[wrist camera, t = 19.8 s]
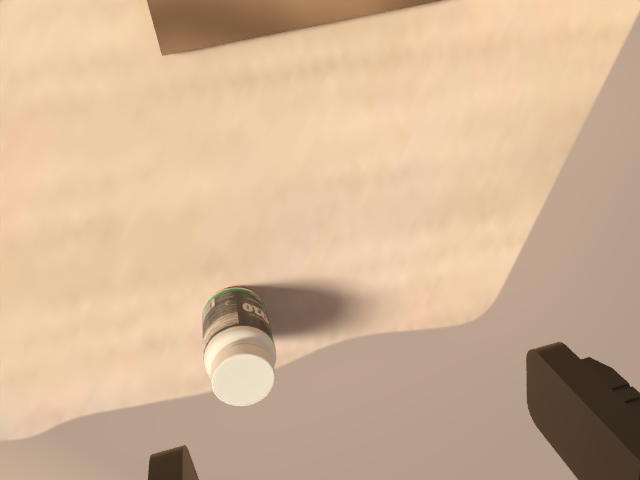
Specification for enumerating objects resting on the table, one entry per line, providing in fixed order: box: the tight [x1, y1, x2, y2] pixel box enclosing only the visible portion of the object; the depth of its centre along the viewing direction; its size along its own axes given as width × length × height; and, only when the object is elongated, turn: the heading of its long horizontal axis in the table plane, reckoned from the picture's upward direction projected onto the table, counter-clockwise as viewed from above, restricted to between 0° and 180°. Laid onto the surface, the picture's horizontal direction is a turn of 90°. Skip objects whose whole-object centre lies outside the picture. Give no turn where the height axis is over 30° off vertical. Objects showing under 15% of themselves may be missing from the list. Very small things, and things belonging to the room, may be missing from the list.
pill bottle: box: [202, 287, 276, 406], centre depth 40 cm, size 5×5×8 cm
